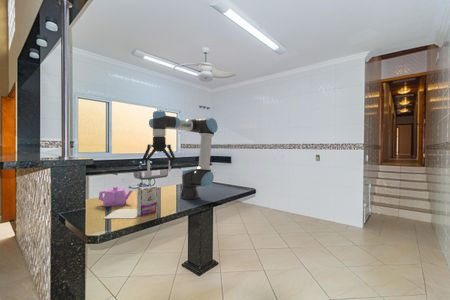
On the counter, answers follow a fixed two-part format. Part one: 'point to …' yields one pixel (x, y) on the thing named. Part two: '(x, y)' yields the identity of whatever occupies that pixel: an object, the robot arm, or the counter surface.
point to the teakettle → (114, 196)
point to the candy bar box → (146, 200)
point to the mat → (123, 214)
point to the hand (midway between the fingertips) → (159, 171)
